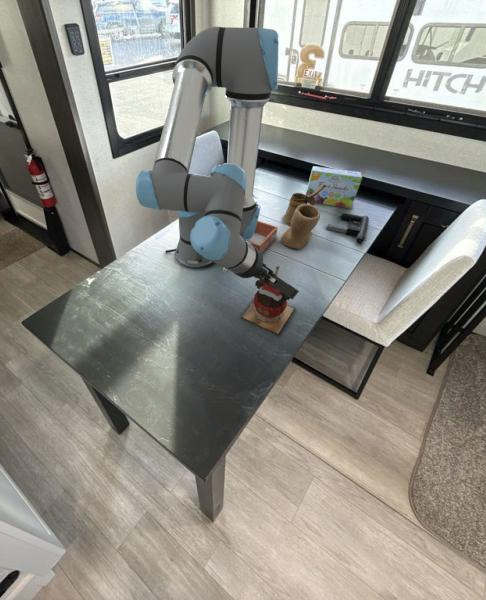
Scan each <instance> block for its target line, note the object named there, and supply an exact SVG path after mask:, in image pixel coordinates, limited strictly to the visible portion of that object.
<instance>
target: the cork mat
mask: <svg viewBox="0 0 486 600" xmlns="http://www.w3.org/2000/svg"><path fill="white" fill-rule="evenodd" d="M253 305H254V301H253V302H252V303H251V304H250V306H249V307H248V308H247V309H246V311H245V312H244V313H243V315H242V316H241V318H242V319H244V320H246V321H248V322H250V323H253V324H255V325H256V326H258V327H261V328H263V329H265V330H268V331H270V332H272V333H274V334H276V335H280V332H281V331H282V329H283V328H284V327H285V325H286V323H287V322H288V320H289V318H290V316H291V315H292V313H293V312H294V311H295V308H294V307H291V306H289V305H287V306H286V309H285V310H284V311H283V312H284V315H283V317H282V318H281V319H278V320H277V321H274V322H272V321H271V322H268V321H262V320H260V319H258V318H257V316H256V315H254V314H255V313H254V311H253V308H254V307H253Z"/></svg>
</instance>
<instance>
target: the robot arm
mask: <svg viewBox="0 0 486 600" xmlns="http://www.w3.org/2000/svg"><path fill="white" fill-rule="evenodd" d="M279 56H280V36H279V33H278V32H277V30H275V29H271V28H264V27H261V26H259V27H232V26H227V27H226V26H212V27H211V26H210V27H207V28H206V29H203V30H202V31H199V32H198V33H197V34H195V35H194V36H193V37H192V38H191V39H190V40H189V41H188V42H187V43H186V44H185V45H184V47H183V48H182V50H181V51H180V53H179V55H178V56H177V57H176V60H175V63H174V67H173V70H172V78H171V79H172V83H173V87H172V93H171V96H170V100H169V104H168V108H167V112H166V116H165V120H164V123H163V127H162V131H161V136H160V139H159V143H158V146H157V151H156V154H155V159H154V162H153V167H152V169H142V170H140V172H139V173H138V174H137V177H136V182H135V193H136V194H135V195H136V198H137V200H138V203H139V205H141V207H144V208H147V209H152V210H159V211H161V210H162V211H172V212H173V211H174V212H175V211H176V212H177V216H178V217H177V218H178V231H179V239H178V243H177V245H176V248H172V249H166V250H165V254H169V253H174V252H175V258H176V261H177V262H178V263H179V264H180V265H182V266H183V267H185V268H190V269H203V268H206V267H209V266H211V265H212V264H214V263H215V264H216V265H219V266H220V267H222V270H223V272H227V271H229V272H232V274H234V275H236V276H238V277H240V278H242V279H251V278H255V279H257V280H261V281H263V282H264V283H267V284H270V285H271V286H273V287H275V288H276V289H278V290H279V291H281V292H282V293H283V294H284V296H283V297H284V298H287V296H288V297H289V298H290V299H289V300H294V299H295V297H296V296H297V295H298V293H299V292H300V291H299V290H298V289H297V288H295V287H294V286H292V285H290V283H289V284H288V283H287V282H286V281H284V280H283V279H281V278H280V277H279V276H276V275H275V271H274V270H272V269H271V268H270V267H268V266H267V265H266V264H265V262H264V256H263V253H262V254H261V252H260V251H259V250H258V249H257V248H255V247H254V246H253V245H252V244H251V243H249V242H248V241H249V240H250V239H252V238H254V234H255V233H256V232H255V229H256V225H257V222H258V221H259V217H260V214H261V204H259V203H257V202H258V199H257V196H255V194H254V186H255V181H256V180H255V179H256V171H257V162H258V153H259V146H260V137H261V131H262V122H263V113H264V107H265V105H266V104H267V103H268V102H269V101H270V100H271V96H272V92H275V91H277V90H278V89H279V88H278V87H279V62H280V61H279ZM212 88H224V89H225V92H224V93H225V95H224V96H225V99H226V100H227V101H228V102H229V104H230V110H229V125H228V141H227V142H228V143H227V157H226V162H224V163H222V164H216V165H215V166H214V167H212V169H211V171H210V174H209V175H208V174H197V173H190V169H191V164H192V159H193V156H194V150H195V145H196V141H197V136H198V132H199V127H200V122H201V117H202V113H203V108H204V103H205V99H206V97H207V96H208V95H209V94H210V92H211V90H212ZM247 240H248V241H247ZM264 277H265V278H264ZM262 278H264V279H262Z"/></svg>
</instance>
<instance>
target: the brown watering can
mask: <svg viewBox="0 0 486 600" xmlns="http://www.w3.org/2000/svg"><path fill="white" fill-rule="evenodd" d="M325 187H326V185H325V184H324V185H322V186H320V187H319V188H318V189H317V190H316V191H315V192H314V193H313V194H312V195H311V196H306V194H304V193H301V192H294V193H292V195H291V197H290V199H289V203H288V206H287V208H286V211H285V213H284V215H283V218H282V219H283V222H284V223H285V224H287V225H289V226H291V220H292V216H293V214H294V211H295V210H296V208H297V207H298V206H300V205H302V204H310V205H313V206H316V203H315V198H314V196H316V195H317V194H318V193H319V192H321V191H322V190H323V189H324V188H325Z"/></svg>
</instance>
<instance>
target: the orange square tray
mask: <svg viewBox="0 0 486 600" xmlns="http://www.w3.org/2000/svg"><path fill="white" fill-rule="evenodd" d="M278 228H279V227H278V226H275V225H273V224H270V223H266V222H263V221H261V220H258V222H257V225H256V229H255V232H254V233H256V234H260V235H263V236H264V237H265V236H266V237H265V238H264V239H263V240H262V241H261V242H260V243H256V242H254V241H250V240H249V239H248V240H247V241H248V242H249V243H251V244H252V245H253V246H254V247H255V248H257V249H258V250H259V251H260V252H261V254H262V255H263V254H264V252H265V251H266V250H267V248H268V247H269V246H270V245H271V244H272V243H273V242H274V240H276V238H277V234H278Z"/></svg>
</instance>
